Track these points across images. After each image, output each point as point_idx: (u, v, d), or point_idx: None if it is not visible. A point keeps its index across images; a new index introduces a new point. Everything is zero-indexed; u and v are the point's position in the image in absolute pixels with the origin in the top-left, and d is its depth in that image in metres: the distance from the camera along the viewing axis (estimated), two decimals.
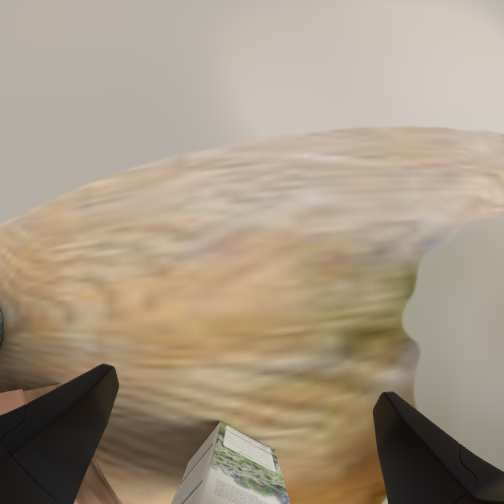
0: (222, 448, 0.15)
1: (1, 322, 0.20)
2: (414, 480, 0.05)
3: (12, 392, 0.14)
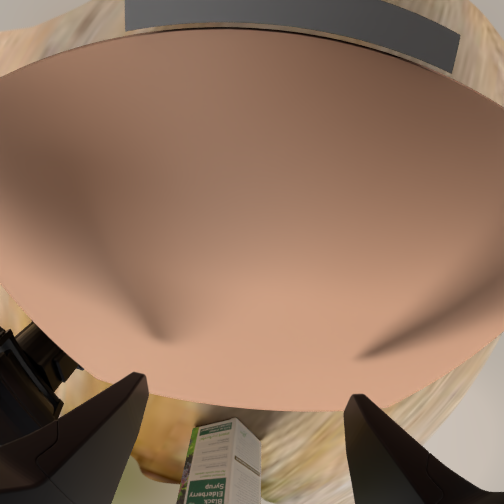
0: None
1: None
2: (379, 488, 0.05)
3: (390, 405, 0.15)
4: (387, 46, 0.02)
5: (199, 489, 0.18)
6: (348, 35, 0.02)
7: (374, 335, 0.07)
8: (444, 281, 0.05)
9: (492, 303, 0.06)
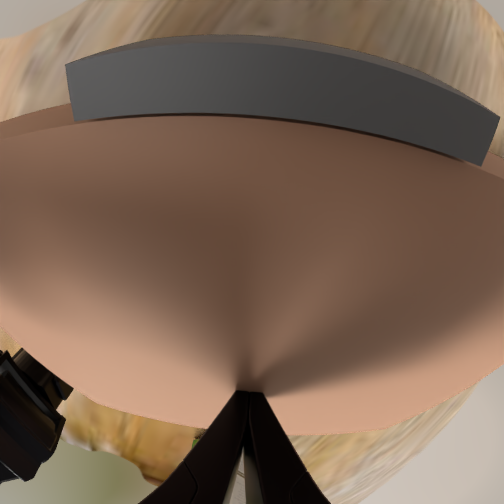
0: None
1: None
2: (252, 497, 0.05)
3: (387, 427, 0.15)
4: (409, 138, 0.02)
5: None
6: (361, 126, 0.02)
7: (368, 385, 0.07)
8: (441, 343, 0.05)
9: (489, 350, 0.06)
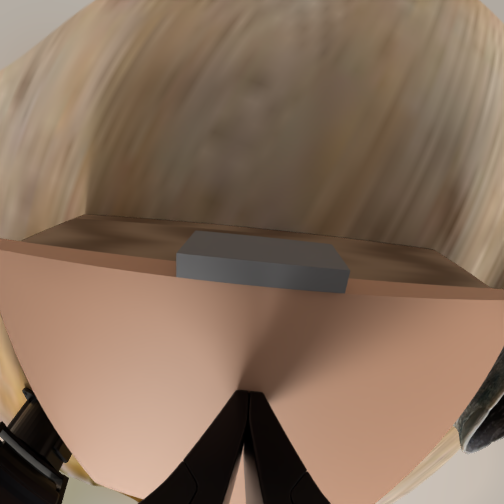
0: None
1: None
2: (252, 497, 0.05)
3: None
4: (307, 289, 0.07)
5: None
6: (286, 287, 0.07)
7: (329, 444, 0.09)
8: (372, 401, 0.08)
9: (425, 408, 0.08)
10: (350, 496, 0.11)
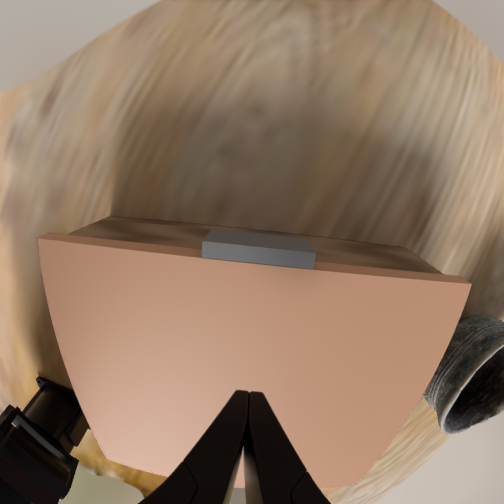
0: None
1: None
2: (252, 497, 0.05)
3: (358, 481, 0.16)
4: (287, 265, 0.10)
5: None
6: (274, 264, 0.10)
7: (313, 400, 0.12)
8: (343, 359, 0.11)
9: (391, 372, 0.12)
10: (337, 465, 0.15)
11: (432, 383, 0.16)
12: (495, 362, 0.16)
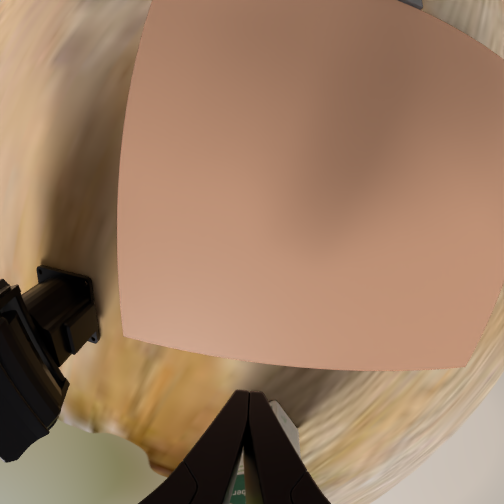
0: None
1: None
2: (252, 497, 0.05)
3: (469, 357, 0.13)
4: (405, 0, 0.07)
5: (237, 486, 0.15)
6: None
7: (447, 145, 0.09)
8: (462, 97, 0.09)
9: (500, 134, 0.09)
10: (461, 306, 0.12)
11: None
12: None
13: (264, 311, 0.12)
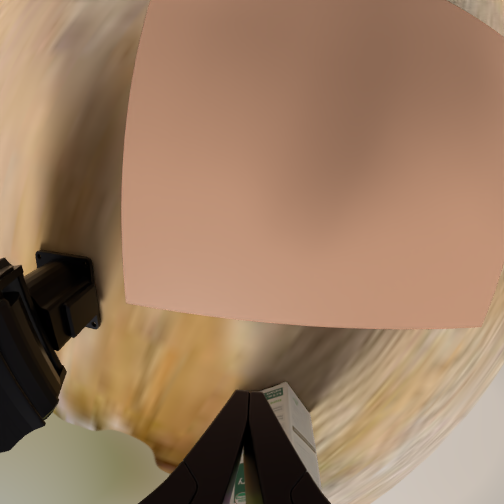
0: None
1: None
2: (252, 497, 0.05)
3: (484, 316, 0.12)
4: None
5: None
6: None
7: (441, 96, 0.09)
8: (451, 55, 0.08)
9: (490, 90, 0.09)
10: (473, 258, 0.11)
11: None
12: None
13: (275, 262, 0.12)
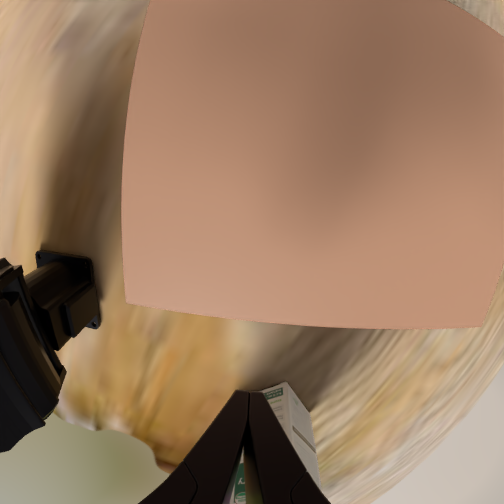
0: None
1: None
2: (252, 497, 0.05)
3: (484, 316, 0.12)
4: None
5: None
6: None
7: (441, 96, 0.09)
8: (451, 55, 0.08)
9: (490, 90, 0.09)
10: (473, 258, 0.11)
11: None
12: None
13: (275, 262, 0.12)
